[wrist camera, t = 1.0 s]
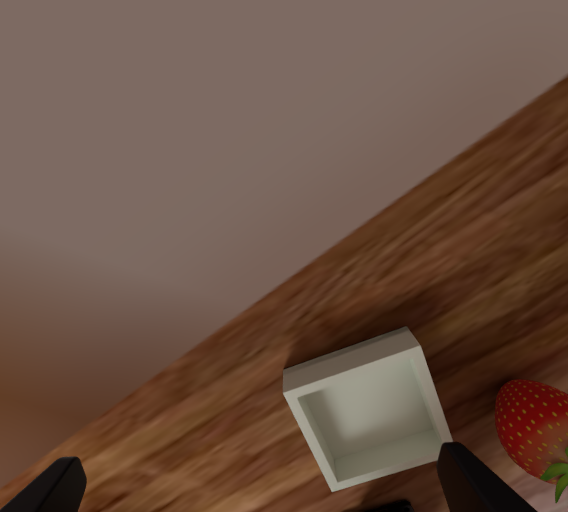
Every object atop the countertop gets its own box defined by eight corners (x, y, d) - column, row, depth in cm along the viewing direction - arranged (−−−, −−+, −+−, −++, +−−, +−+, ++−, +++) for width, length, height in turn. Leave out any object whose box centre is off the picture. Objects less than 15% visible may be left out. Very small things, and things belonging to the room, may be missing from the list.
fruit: (531, 417, 25) (638, 529, 18) (464, 416, 25) (541, 528, 18) (547, 355, 24) (673, 450, 16) (475, 355, 24) (566, 449, 16)
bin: (441, 426, 26) (457, 454, 23) (327, 462, 27) (331, 491, 24) (406, 326, 23) (420, 345, 21) (283, 369, 24) (282, 393, 22)
